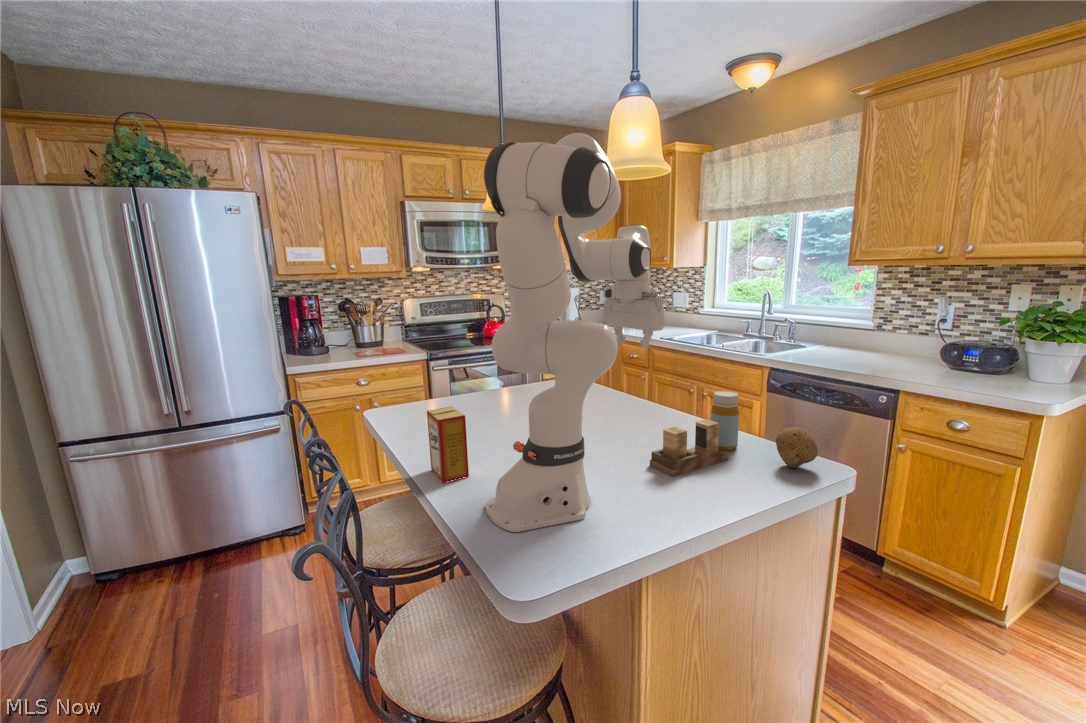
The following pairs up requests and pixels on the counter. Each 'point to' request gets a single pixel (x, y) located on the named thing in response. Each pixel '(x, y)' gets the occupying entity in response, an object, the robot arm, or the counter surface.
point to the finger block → (675, 443)
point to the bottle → (726, 418)
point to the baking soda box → (448, 443)
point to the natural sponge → (796, 447)
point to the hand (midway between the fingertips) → (632, 345)
